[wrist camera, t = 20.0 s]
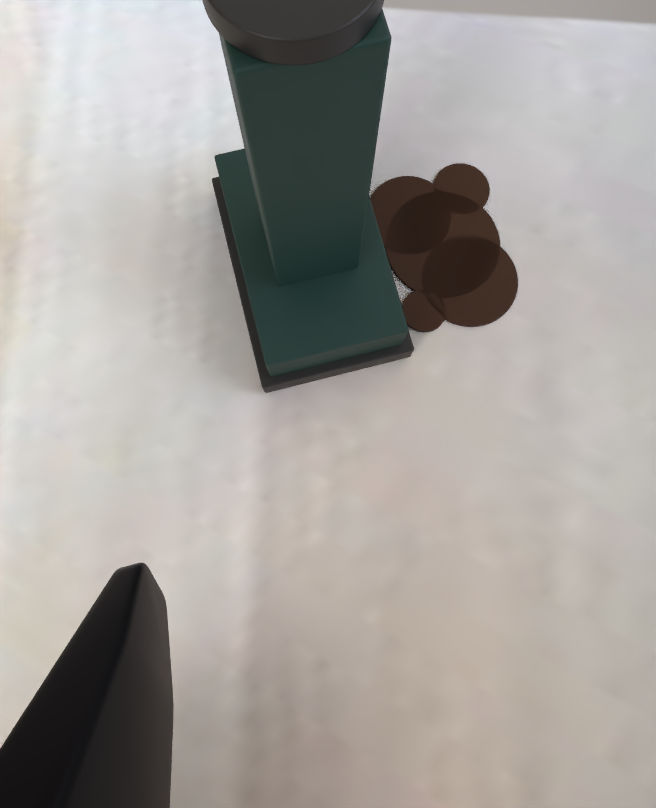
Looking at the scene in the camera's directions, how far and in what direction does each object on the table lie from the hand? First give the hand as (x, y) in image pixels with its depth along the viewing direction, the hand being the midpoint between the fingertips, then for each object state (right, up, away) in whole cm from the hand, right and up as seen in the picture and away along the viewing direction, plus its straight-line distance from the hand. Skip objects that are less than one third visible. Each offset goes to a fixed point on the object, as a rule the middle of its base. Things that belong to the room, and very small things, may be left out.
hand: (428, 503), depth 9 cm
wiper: (-2, +7, +14) cm, 16 cm away
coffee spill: (+3, +8, +14) cm, 17 cm away
